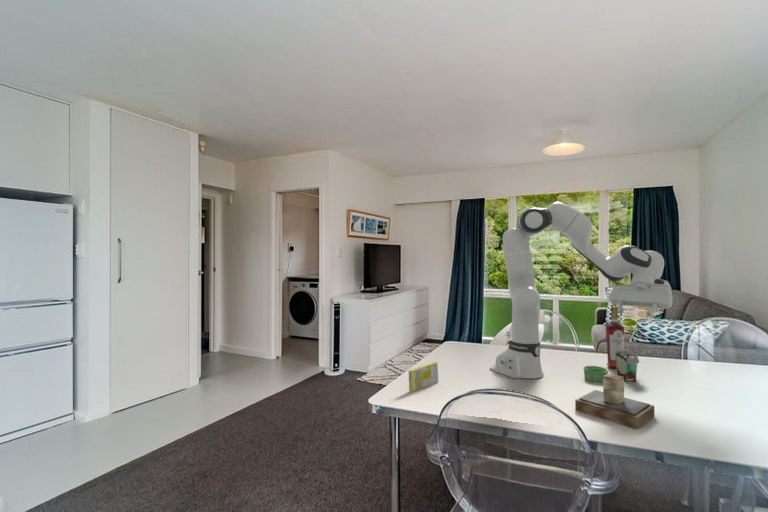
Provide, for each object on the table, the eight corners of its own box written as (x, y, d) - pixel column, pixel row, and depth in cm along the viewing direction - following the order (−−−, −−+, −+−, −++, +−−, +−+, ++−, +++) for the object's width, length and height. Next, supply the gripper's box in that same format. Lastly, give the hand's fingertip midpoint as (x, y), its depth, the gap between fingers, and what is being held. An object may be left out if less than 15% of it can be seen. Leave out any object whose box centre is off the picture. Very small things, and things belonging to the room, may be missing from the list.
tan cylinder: (603, 400, 123) (603, 376, 123) (609, 397, 125) (609, 373, 125) (618, 404, 119) (618, 379, 119) (624, 401, 122) (623, 376, 122)
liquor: (620, 366, 173) (619, 305, 173) (628, 371, 166) (627, 307, 166) (603, 365, 174) (602, 305, 175) (610, 370, 167) (609, 307, 167)
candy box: (434, 381, 156) (434, 361, 156) (438, 382, 155) (438, 362, 155) (408, 391, 145) (408, 369, 145) (412, 392, 143) (412, 371, 143)
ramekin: (578, 377, 158) (578, 367, 158) (593, 374, 162) (593, 364, 162) (598, 384, 150) (597, 373, 150) (613, 381, 154) (613, 370, 154)
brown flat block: (575, 410, 125) (575, 398, 125) (594, 400, 134) (594, 388, 134) (637, 429, 111) (637, 415, 111) (654, 416, 119) (654, 404, 119)
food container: (645, 385, 148) (644, 359, 148) (627, 384, 150) (627, 358, 150) (631, 375, 160) (631, 351, 160) (615, 374, 162) (615, 351, 162)
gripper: (612, 279, 153) (601, 305, 148) (673, 281, 137) (664, 311, 131) (616, 289, 156) (606, 315, 150) (677, 293, 140) (668, 322, 134)
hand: (634, 313), depth 141 cm, fingers open, 8 cm apart
